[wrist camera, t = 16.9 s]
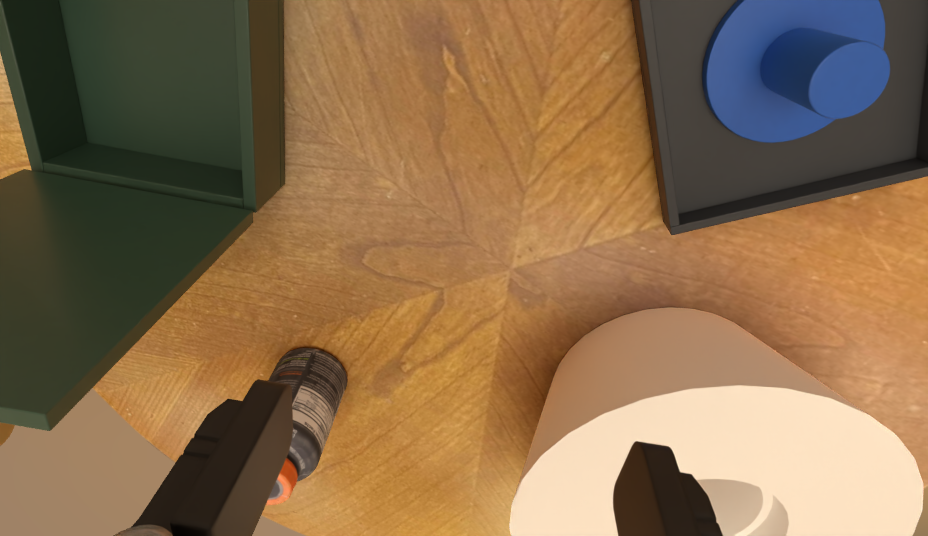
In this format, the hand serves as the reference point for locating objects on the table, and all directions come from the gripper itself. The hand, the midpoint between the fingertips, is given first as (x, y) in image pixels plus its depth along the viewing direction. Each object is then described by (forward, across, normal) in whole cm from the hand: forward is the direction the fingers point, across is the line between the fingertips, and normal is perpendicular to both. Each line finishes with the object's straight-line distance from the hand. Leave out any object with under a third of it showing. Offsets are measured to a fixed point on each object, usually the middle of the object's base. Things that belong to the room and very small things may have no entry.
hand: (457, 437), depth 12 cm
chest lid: (+11, +20, +5) cm, 23 cm away
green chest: (+24, +20, -2) cm, 32 cm away
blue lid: (+24, -16, -7) cm, 29 cm away
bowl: (+25, -17, +19) cm, 35 cm away
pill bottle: (+25, +11, +22) cm, 35 cm away
